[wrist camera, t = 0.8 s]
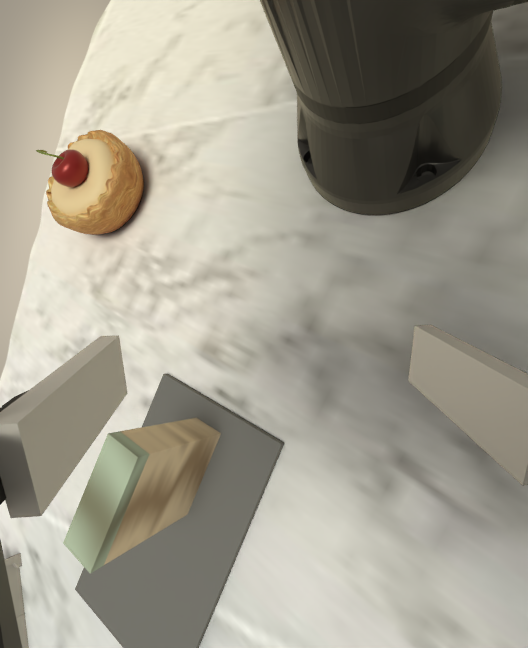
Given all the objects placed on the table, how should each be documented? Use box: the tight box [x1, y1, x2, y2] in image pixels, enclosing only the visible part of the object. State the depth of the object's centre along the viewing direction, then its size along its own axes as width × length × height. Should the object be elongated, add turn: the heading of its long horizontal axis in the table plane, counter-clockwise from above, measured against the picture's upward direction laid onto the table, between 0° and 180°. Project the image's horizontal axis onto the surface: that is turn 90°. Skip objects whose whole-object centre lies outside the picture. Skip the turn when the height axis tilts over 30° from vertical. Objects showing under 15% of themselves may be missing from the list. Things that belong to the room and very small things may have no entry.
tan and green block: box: [63, 418, 221, 573], centre depth 26 cm, size 8×3×10 cm, turn 155°
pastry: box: [36, 130, 144, 235], centre depth 37 cm, size 12×12×9 cm
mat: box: [75, 374, 284, 648], centre depth 31 cm, size 24×14×1 cm, turn 155°
